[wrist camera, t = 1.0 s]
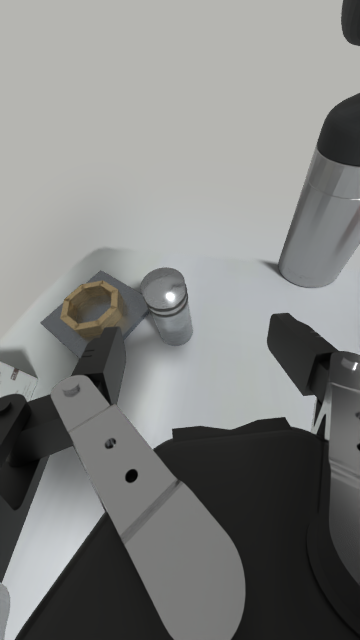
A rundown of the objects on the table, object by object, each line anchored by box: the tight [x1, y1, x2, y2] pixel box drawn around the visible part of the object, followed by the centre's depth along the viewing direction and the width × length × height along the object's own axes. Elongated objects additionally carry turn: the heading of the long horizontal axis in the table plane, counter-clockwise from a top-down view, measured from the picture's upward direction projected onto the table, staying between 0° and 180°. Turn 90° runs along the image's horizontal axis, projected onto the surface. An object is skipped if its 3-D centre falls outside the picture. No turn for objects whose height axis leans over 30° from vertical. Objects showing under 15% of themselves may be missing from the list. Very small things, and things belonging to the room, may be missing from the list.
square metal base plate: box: [41, 271, 150, 358], centre depth 36 cm, size 14×14×4 cm
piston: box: [141, 268, 193, 346], centre depth 29 cm, size 5×5×11 cm
